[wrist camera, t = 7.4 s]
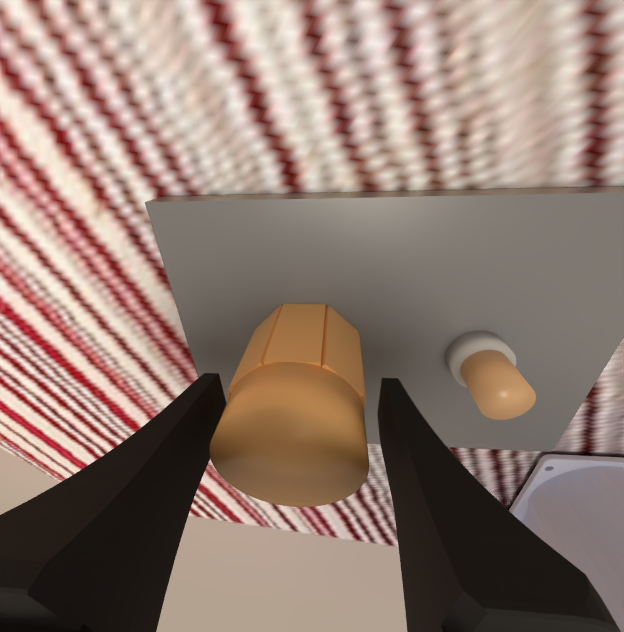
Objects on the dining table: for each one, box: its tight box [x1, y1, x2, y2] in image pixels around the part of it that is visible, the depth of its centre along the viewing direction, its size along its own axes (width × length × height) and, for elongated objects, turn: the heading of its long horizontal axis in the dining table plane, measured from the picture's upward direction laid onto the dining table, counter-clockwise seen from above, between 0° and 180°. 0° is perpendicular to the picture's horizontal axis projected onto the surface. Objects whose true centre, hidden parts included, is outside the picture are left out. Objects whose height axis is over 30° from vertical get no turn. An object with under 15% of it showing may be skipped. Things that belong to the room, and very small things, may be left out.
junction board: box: [145, 186, 624, 452], centre depth 13 cm, size 14×20×4 cm
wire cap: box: [210, 304, 369, 507], centre depth 12 cm, size 5×5×6 cm
